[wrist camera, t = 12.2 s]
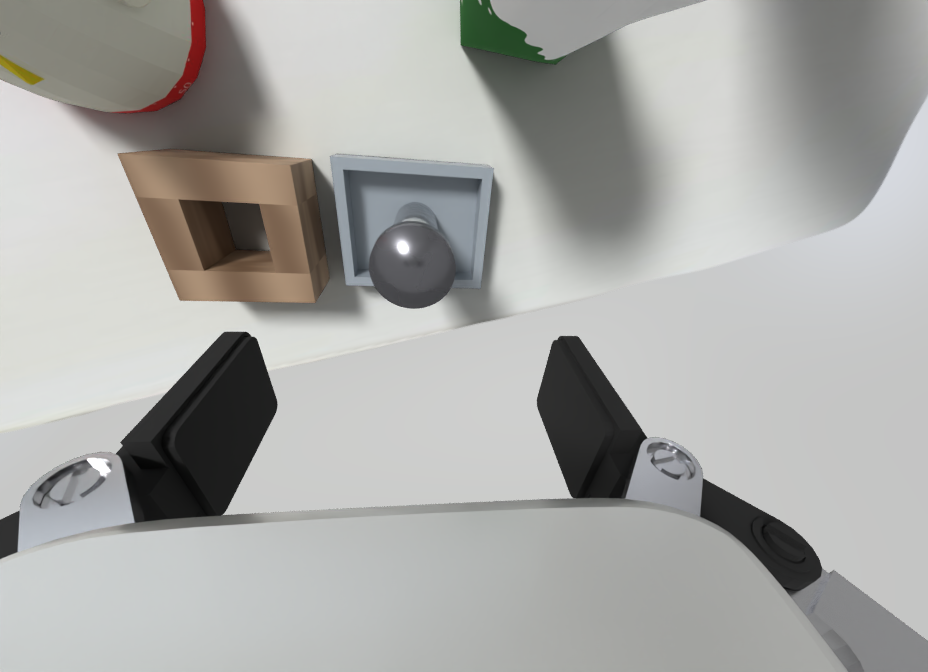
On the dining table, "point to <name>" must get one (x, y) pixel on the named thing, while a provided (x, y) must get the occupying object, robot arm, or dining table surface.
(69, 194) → the dining table surface
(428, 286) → the pin
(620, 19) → the milk carton
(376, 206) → the tray
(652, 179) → the dining table surface
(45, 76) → the kitchen timer
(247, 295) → the socket block
